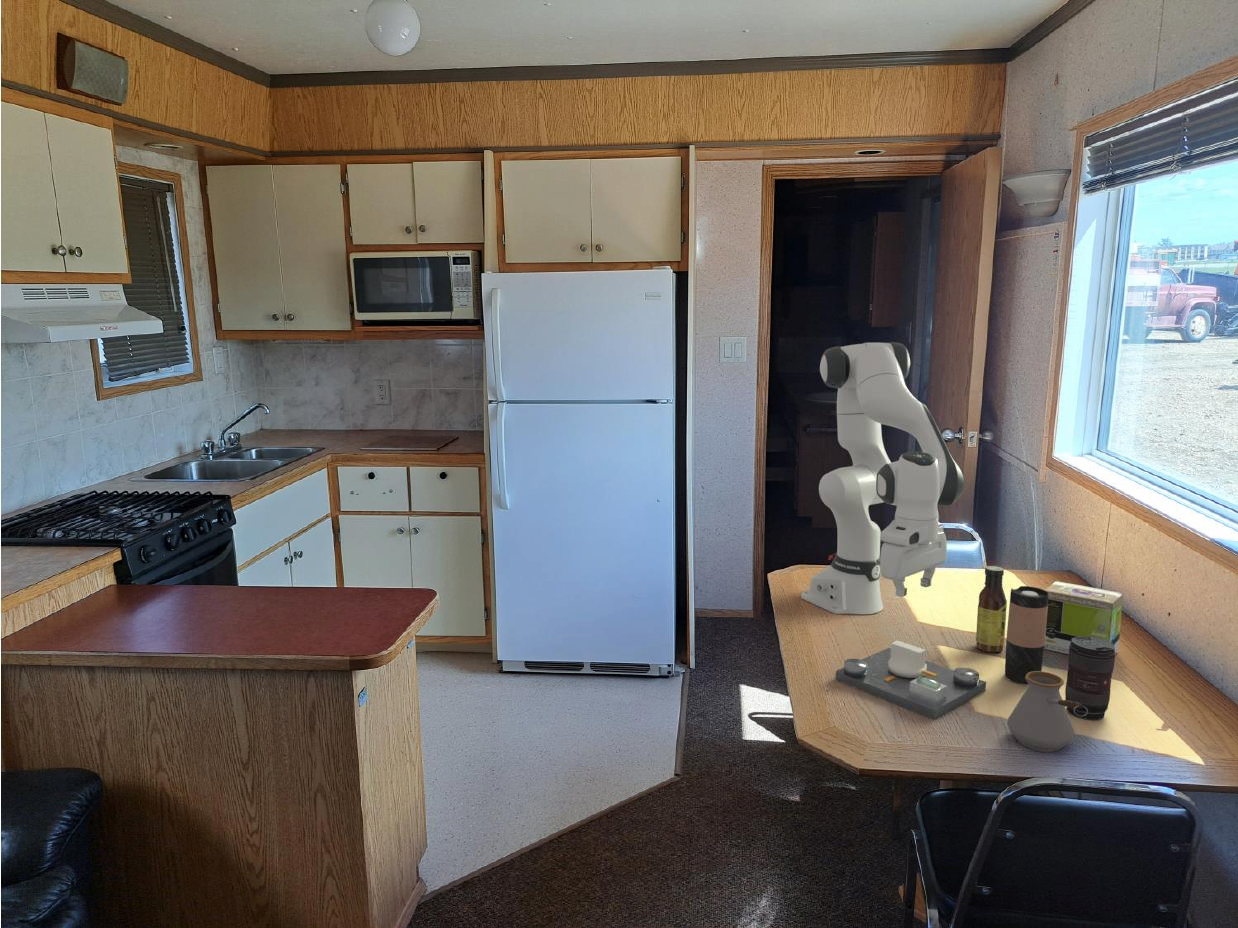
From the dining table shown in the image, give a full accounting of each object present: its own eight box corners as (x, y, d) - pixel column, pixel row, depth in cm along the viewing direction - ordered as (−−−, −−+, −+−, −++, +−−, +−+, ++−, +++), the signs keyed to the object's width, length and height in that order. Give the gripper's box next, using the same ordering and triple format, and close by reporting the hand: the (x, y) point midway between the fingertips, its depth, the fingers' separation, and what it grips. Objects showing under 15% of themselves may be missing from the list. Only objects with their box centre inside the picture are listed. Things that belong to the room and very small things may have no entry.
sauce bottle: (1006, 654, 204) (1012, 573, 200) (978, 652, 205) (984, 572, 202) (1000, 643, 211) (1006, 565, 207) (972, 642, 212) (978, 563, 208)
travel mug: (1043, 687, 187) (1051, 599, 183) (1004, 682, 190) (1011, 595, 186) (1039, 673, 194) (1047, 587, 190) (1002, 668, 197) (1009, 584, 193)
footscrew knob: (880, 669, 192) (881, 645, 191) (901, 659, 197) (902, 636, 196) (925, 685, 184) (927, 661, 182) (946, 675, 188) (947, 651, 187)
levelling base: (835, 679, 192) (836, 654, 191) (888, 655, 204) (889, 631, 203) (934, 719, 174) (935, 691, 172) (985, 690, 186) (987, 664, 185)
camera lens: (1118, 718, 173) (1125, 647, 170) (1085, 724, 171) (1092, 652, 168) (1086, 700, 181) (1093, 632, 178) (1054, 706, 179) (1060, 637, 176)
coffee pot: (997, 725, 171) (1003, 653, 168) (1058, 727, 170) (1064, 655, 167) (1039, 785, 150) (1047, 705, 147) (1109, 788, 149) (1118, 707, 146)
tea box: (1118, 651, 205) (1125, 592, 202) (1107, 665, 198) (1114, 603, 195) (1050, 635, 215) (1055, 578, 212) (1037, 648, 208) (1042, 589, 205)
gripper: (929, 518, 194) (927, 577, 197) (875, 534, 182) (873, 597, 184) (955, 523, 190) (952, 584, 192) (902, 540, 177) (899, 605, 179)
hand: (913, 590), depth 188 cm, fingers open, 8 cm apart
